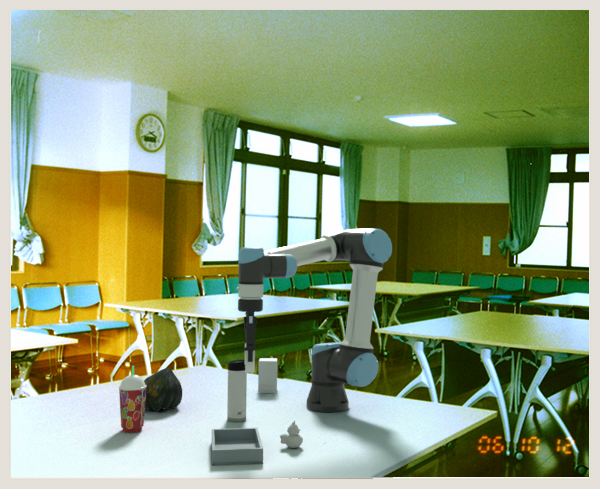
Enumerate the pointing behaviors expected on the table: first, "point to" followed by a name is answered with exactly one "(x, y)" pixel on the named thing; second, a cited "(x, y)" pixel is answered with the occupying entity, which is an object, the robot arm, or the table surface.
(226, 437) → the bin
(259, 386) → the supplement box
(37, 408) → the table surface
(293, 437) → the white animal figurine
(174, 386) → the squash
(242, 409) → the travel mug
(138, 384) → the smoothie
